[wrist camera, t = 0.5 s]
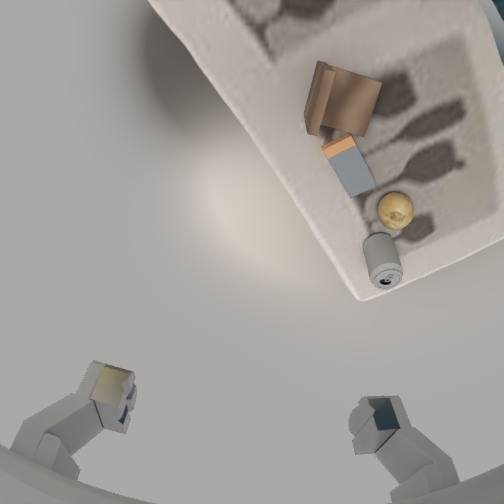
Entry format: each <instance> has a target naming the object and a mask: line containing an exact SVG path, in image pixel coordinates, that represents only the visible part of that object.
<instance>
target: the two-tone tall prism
mask: <svg viewBox="0 0 504 504" xmlns="http://www.w3.org/2000/svg"><path fill="white" fill-rule="evenodd" d="M321 147H322V151H323V152H324V154H325V155H326V157H327V159H328V160H329V162H330V164H331V165H332V167H333V169H334V170H335V172H336V174H337V175H338V177H339V179H340V181H341V182H342V184H343V186H344V188H345V189H346V191H347V193H348V195H349V196H350V198H351V197H354V196H356V195H358V194H360V193H362V192H364V191H367V190H369V189H371V188H373V187H375V186H377V185H376V183H375V181H374V179H373V177H372V175H371V173H370V171H369V169H368V167H367V165H366V163H365V161H364V159H363V157H362V155H361V153H360V151H359V149H358V147H357V146H356V144H355V142H354V140H353V138H352V136H351V135H350V133H347V134H345V135H343V136H341V137H339V138H337V139H335V140H333V141H331V142H329V143H327V144H325V145H323V146H321Z"/></svg>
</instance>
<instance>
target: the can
mask: <svg viewBox="0 0 504 504" xmlns="http://www.w3.org/2000/svg"><path fill="white" fill-rule="evenodd" d="M363 250H364V254H365V259H366V263H367V267H368V272H369V276H370V280H371V282H372V283H373V284H374V285H375V287H377V288H378V289H381V290H389V289H392V288H394V287H396V286H397V285H398V284H399V283H400V282H401V280H402V275H403V269H402V266H401V263H400V260H399V257H398V254H397V251H396V248H395V245H394V242H393V240H392V238H391V237H390V236H389V235H387V234H384V233H378V234H374V235H372V236H370V237H369V238H367V240H366V241H365V242H364V245H363Z"/></svg>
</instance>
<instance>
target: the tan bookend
mask: <svg viewBox="0 0 504 504" xmlns="http://www.w3.org/2000/svg"><path fill="white" fill-rule="evenodd" d="M381 85H382V83H381V82H379V81H376V80H374V79H371V78H368V77H365V76H362V75H359V74H356V73H353V72H349V71H346V70H343V69H339V68H336V67H333V66H329V65H328V64H327V63H325V62H321V61H317V65H316V69H315V73H314V77H313V81H312V84H311V88H310V92H309V96H308V100H307V104H306V108H305V111H304V118H305V123H306V128H307V134H310V135H314V136H317V135H318V132H319V129H320V125H323V126H327V127H331V128H334V129H338V130H342V131H345V132H349V133H352V134H355V135H359V136H362V137H364V135H365V132H366V129H367V127H368V124H369V121H370V118H371V115H372V112H373V109H374V106H375V103H376V100H377V97H378V94H379V91H380V88H381Z"/></svg>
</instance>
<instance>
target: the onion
mask: <svg viewBox="0 0 504 504" xmlns="http://www.w3.org/2000/svg"><path fill="white" fill-rule="evenodd" d="M413 211H414V209H413V204H412V202H411V200H410V199H409V198H408V197H407V196H406V195H404V194H401V193H397V192H392V193H389V194H387V195H386V196H384V197H383V198H382V199H381V200H380V202H379V205H378V216H379V219H380V221H381V223H382V224H383V225H384V226H386V227H387V228H390V229H393V230H398V229H402V228H404V227H405V226H407V225H408V224H409V222H410V221H411V220H412V217H413Z"/></svg>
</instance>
